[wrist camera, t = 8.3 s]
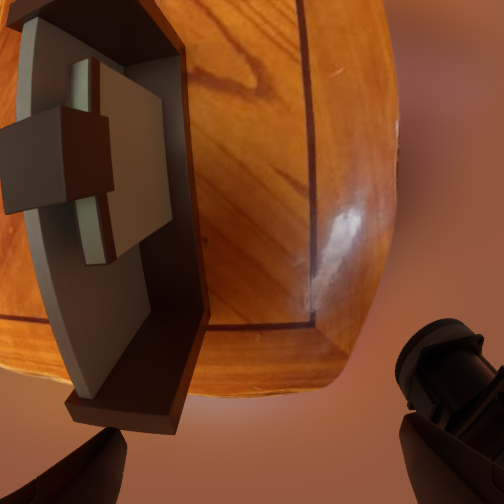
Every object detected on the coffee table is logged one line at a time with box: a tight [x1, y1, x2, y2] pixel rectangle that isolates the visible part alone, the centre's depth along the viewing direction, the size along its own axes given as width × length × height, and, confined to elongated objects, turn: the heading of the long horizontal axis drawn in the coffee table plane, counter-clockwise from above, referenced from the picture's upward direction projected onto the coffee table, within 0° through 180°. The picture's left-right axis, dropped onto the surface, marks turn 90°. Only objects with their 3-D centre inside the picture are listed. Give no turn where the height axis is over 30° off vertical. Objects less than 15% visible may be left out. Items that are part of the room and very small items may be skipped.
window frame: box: [6, 0, 211, 435], centre depth 14 cm, size 5×18×11 cm, turn 4°
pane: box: [0, 56, 172, 267], centre depth 12 cm, size 2×7×11 cm, turn 4°
